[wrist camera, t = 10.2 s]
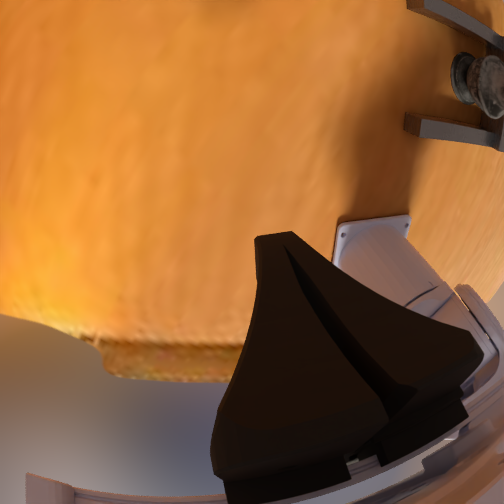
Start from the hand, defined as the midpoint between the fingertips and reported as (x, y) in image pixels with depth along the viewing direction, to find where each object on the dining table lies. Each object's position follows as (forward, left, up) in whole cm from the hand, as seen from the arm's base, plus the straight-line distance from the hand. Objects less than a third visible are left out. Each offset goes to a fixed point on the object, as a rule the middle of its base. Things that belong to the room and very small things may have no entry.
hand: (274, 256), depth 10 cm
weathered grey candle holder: (+8, -21, -11) cm, 25 cm away
